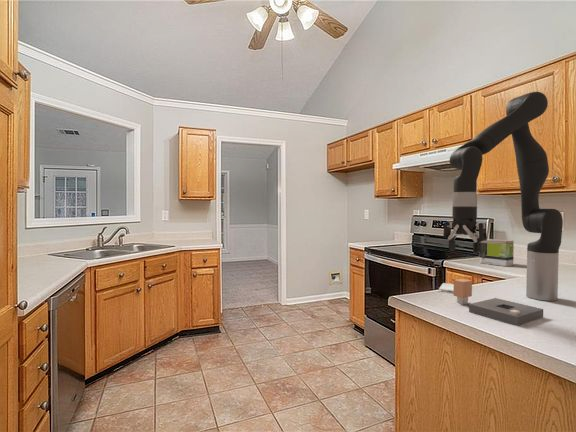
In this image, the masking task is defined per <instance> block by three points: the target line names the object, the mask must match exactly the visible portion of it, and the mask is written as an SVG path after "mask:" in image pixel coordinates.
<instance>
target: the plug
mask: <svg viewBox="0 0 576 432" xmlns="http://www.w3.org/2000/svg"><path fill="white" fill-rule="evenodd" d="M453 284H454V293H453V296H454V297H456V298H457V299H456V303H457V304H461V305H465V304H468V303H469V298H470V297H472V296H473V280H471V279H465V278H459V279H454V280H453Z"/></svg>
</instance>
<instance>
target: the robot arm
mask: <svg viewBox="0 0 576 432" xmlns="http://www.w3.org/2000/svg"><path fill="white" fill-rule="evenodd" d="M548 105H549V101H548V98H547V96H546V95H545V94H544V93H543V92H541V91H532V92H531V91H530V92H528V93H524V94H522V95H520V96H517V97H513V98H512V99H510V100H509V101H508V102H507V104H506V109H505V113H506V114H505V115H506V116H504V117H503V118H501V119H499V120H498V121H495V122H493V123H492V124H490V125H488V126H487V127H486V128H485V129H483V130H481V132H479V133H478V134H477V135H476V136H475V137H474V138H472V139H471V140H469V141H467V142H465V143H464V144H462V145H461V146H459V147H457V148H456V149H455V150H454V151H452V153H451V154H450V157H449V164H450V166H451V167H452V168H453V169H456V170H461V172H460V174H458V175H456V176H455V178H454V179H453V196H452V212H451V213H452V214H451V216H452V222H451V221H444V222H443V223H444V225H443V235H442V236H443V238H444V239H447V240H448V249H449V251H452V252H455V250H456V240H455V239H456V238H457V237H458V236H460V235H465V236H469V238H471V239H472V241H473V243H472V245H473V246H472V247H473V249H472V250H473V251H472V253H473V254H474V255H477V254H480V247H481V242H482V241H486V240H487V239H488V235H487V234H488V233H487V232H488V231H487V223H486V222H479V223H478V222H477V219H478V195H477V186H478V184H477V181H478V177H479V174H480V171H481V167H482V164H483V156H484V155H486V154H487V153H490V152H491V151H492V150H493V149H494V148H496V147H497V146H498V145H499V144H501V143H502V142H503V141H504V140H505V139H507V138H508V137H509V136H511V138H512V143H513V144H512V145H513V148H514V154H515V162H516V171H517V175H518V183H519V189H520V203H521V204H520V205H521V210H520V211H521V221H522V226H523V228H524V229H525V231H527V233H534V234H540V237H539V239H537V240H535V241H532V242H529V243H528V244H527V247H526V283H525V284H526V286H525V287H526V290H525V291H526V292H525V294H526V295H525V296H526V297H528V298H530V299H534V300H538V301H539V300H540V301H548V302H554V301H555V302H556V301H558V296H559V295H558V294H559V291H558V290H559V253H560V252H559V251H560V247H561V244H562V235H563V228H564V227H563V225H564V222H563V220H564V219H563V215H562V213H561V212H560V210H558V209H556V208H540V204H539V202H540V201H539V199H540V198H539V196H540V192H541V190H542V188H543V186H544V184H545V183H546V181H547V178H548V176H549V172H550V167H549V161H548V155H547V152H546V151H545V149H544V148H543V146H542V145H541V144H540V143H539V142H538V141H537V140H536V138H534V136H533V135H532V133H531V131H530V130H531V129H530V125H529V123H531V122H532V121H533V120H535V119H537V118H539V117H540V116H542V115H543V114H544V113H545V112H546V110H547V108H548ZM452 228H453V229H452ZM476 229H478V232H477V230H476Z"/></svg>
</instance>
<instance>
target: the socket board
mask: <svg viewBox="0 0 576 432" xmlns="http://www.w3.org/2000/svg"><path fill="white" fill-rule="evenodd" d="M468 306H469V307H468V312H469V313H473V314H476V315H478V316H483V317H486V318H490V319H493V320H496V321H500V322H503V323H506V324H510V325H512V326H513V325H514V326H516V325H517V326H518V327H519V326H521V325H523V324H527V323H530V322H533V321H536V320H539V319H542V318H544V308H540V307H536V306H531V305H528V304H524V303H519V302H514V301H510V300H506V299H501V298H497V297H494V298H490V299H485V300H481V301H477V302H473V303H469V304H468Z"/></svg>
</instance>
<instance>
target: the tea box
mask: <svg viewBox="0 0 576 432" xmlns="http://www.w3.org/2000/svg"><path fill="white" fill-rule="evenodd" d="M514 248H515V246H514V240H508V239H495V238H494V239H493V238H487V240H486V241H482V242H481V247H480V252H479V264H484V265H486V264H487V265H493V266H501V267H510V266H513V265H514Z"/></svg>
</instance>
